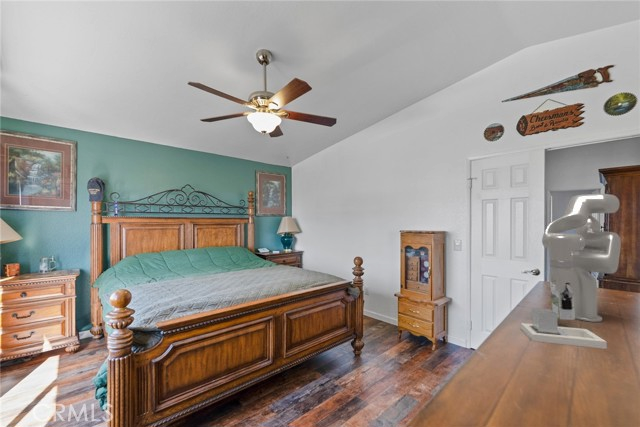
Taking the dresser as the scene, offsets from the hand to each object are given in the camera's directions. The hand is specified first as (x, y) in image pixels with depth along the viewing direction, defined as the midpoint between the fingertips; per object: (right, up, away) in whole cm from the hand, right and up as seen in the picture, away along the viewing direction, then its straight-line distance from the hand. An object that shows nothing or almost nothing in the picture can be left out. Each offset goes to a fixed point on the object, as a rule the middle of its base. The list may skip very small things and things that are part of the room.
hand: (562, 306), depth 120 cm
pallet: (-11, -10, -11) cm, 18 cm away
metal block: (-15, -9, -10) cm, 20 cm away
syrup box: (0, -5, 0) cm, 5 cm away
